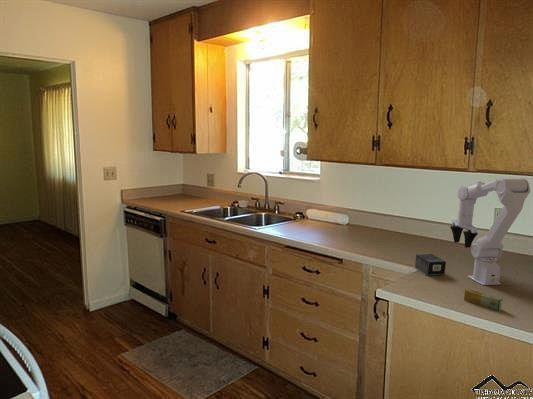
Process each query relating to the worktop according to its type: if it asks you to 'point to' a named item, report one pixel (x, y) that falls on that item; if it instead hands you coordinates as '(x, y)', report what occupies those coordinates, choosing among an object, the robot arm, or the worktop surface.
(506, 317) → the worktop surface
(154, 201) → the worktop surface
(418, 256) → the box
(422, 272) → the gray flat panel
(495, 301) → the medication box
